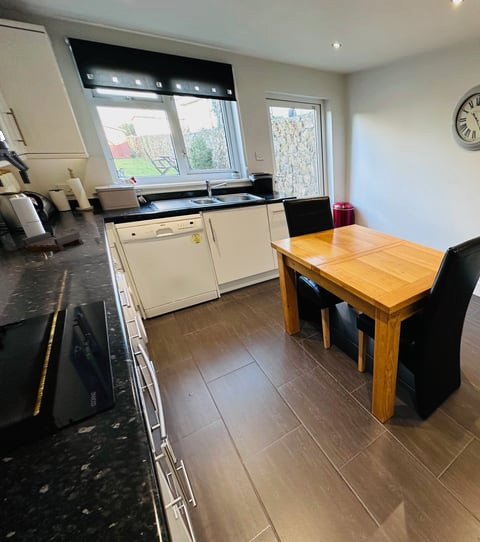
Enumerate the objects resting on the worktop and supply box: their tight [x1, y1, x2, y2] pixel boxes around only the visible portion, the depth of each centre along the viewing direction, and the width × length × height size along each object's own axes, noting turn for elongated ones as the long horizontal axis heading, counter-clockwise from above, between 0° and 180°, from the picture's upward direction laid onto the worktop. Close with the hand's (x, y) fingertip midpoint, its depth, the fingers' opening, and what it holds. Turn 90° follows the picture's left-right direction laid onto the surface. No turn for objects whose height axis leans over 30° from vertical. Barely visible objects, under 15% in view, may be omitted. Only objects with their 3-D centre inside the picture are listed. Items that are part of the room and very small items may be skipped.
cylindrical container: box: [9, 196, 46, 238], centre depth 154 cm, size 7×7×25 cm
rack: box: [21, 231, 84, 253], centre depth 151 cm, size 16×14×7 cm
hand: (14, 185), depth 146 cm, fingers open, 13 cm apart
